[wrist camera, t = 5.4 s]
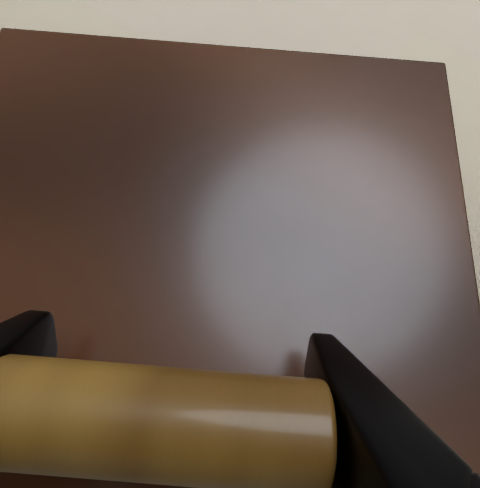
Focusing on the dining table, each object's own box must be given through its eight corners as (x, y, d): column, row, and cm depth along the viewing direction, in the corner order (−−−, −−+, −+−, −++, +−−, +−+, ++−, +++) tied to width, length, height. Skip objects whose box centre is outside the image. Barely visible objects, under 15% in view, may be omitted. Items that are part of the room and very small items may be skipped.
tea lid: (494, 542, 8) (720, 666, 5) (-154, 491, 8) (-476, 570, 5) (434, 79, 13) (522, -57, 9) (12, 46, 13) (-80, -104, 9)
